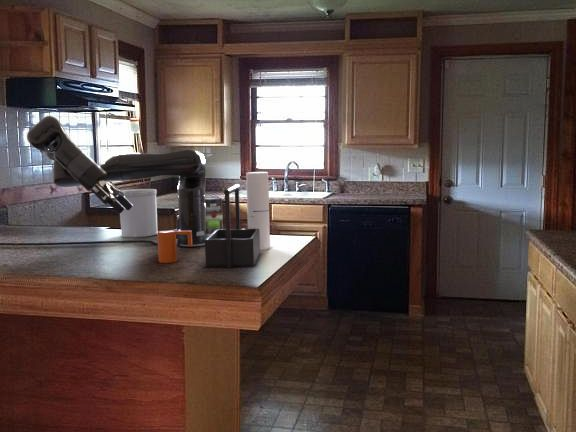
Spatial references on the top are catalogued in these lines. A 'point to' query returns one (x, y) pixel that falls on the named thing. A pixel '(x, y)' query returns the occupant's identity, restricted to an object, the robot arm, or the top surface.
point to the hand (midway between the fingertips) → (126, 209)
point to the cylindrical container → (258, 206)
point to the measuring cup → (170, 244)
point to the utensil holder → (139, 213)
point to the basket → (232, 241)
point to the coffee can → (213, 214)
